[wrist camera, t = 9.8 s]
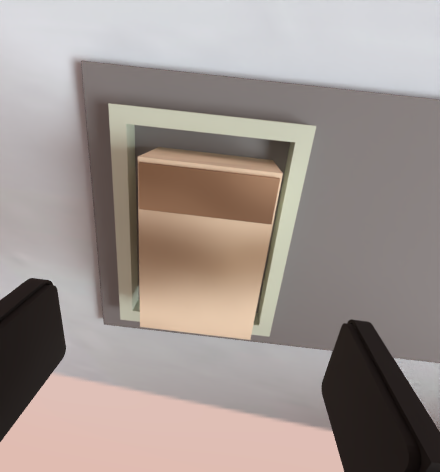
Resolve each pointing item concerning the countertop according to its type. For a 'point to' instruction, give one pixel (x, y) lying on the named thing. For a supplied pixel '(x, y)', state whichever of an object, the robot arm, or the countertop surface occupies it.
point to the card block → (203, 239)
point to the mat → (304, 198)
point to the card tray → (129, 116)
